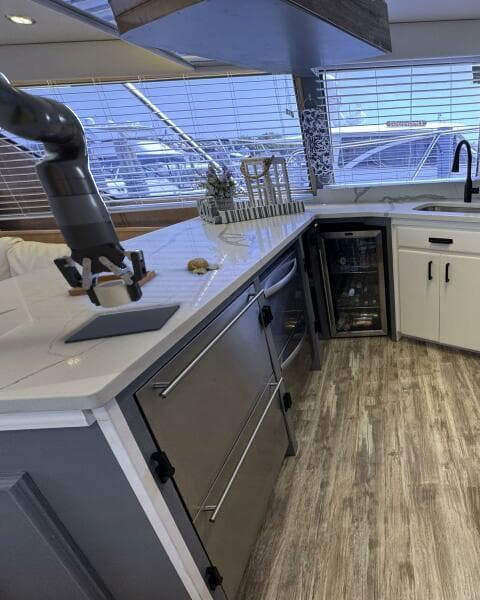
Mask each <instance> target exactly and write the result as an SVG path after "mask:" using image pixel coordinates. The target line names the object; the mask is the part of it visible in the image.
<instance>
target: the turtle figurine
mask: <svg viewBox="0 0 480 600" xmlns="http://www.w3.org/2000/svg"><path fill="white" fill-rule="evenodd" d="M220 267H221V266H220V265H217V266H215V265H210V264H209V262H208V261H207V260H206V259H205V258H203V257H197V258H194V259H190V260H189V261H188V262H187V270H188V271H191V272H192V273H193V274H199V275H202V274H204V275H205V274H206V273H207V269H211V270H217V269H219V268H220Z"/></svg>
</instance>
